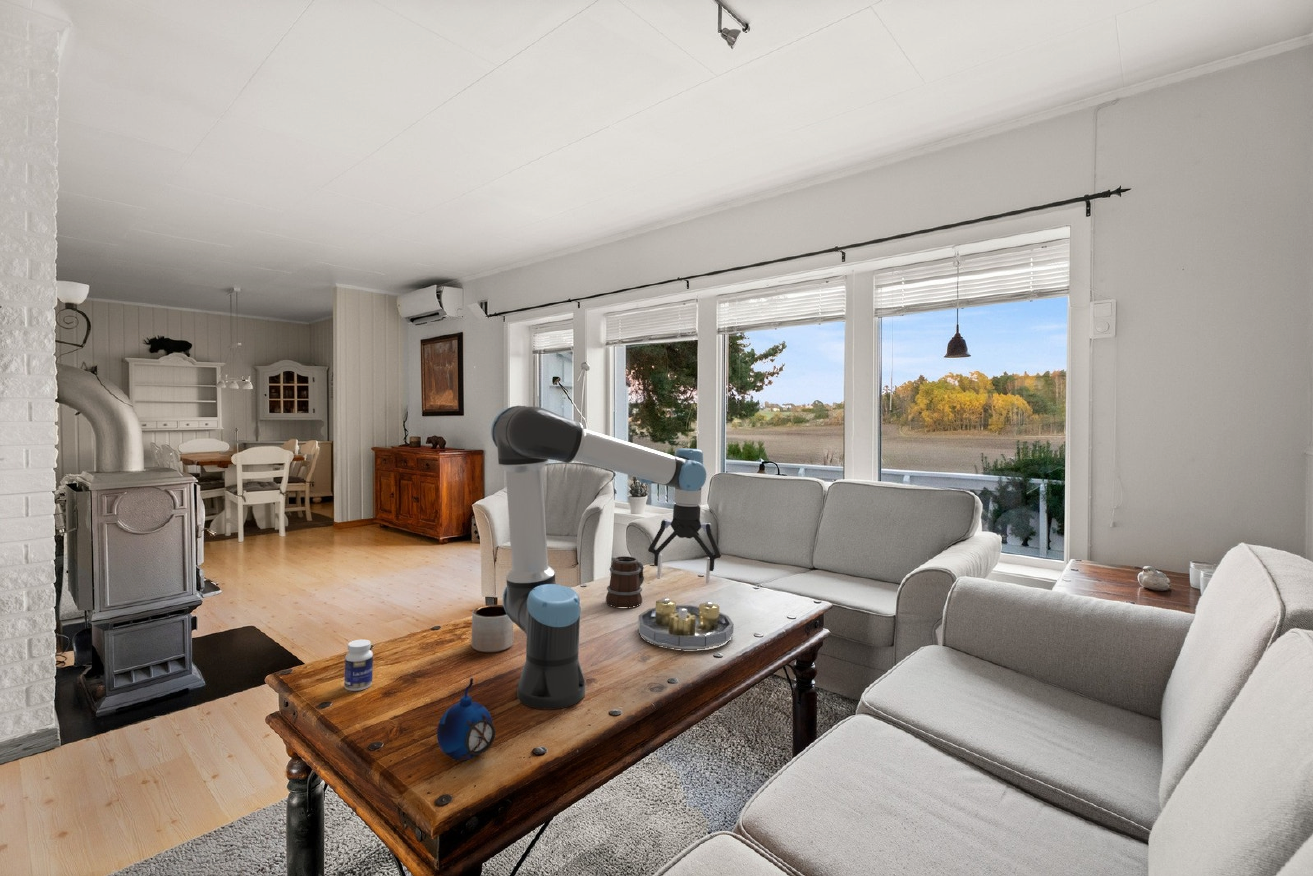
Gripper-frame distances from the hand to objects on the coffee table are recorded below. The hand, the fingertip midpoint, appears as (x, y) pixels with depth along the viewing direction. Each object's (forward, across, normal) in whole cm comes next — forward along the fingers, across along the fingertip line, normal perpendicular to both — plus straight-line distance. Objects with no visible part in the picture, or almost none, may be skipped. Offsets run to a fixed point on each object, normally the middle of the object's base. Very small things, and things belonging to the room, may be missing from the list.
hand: (683, 580), depth 172 cm
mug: (+18, +22, -33) cm, 43 cm away
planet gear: (+16, 0, 0) cm, 16 cm away
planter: (+19, +49, +15) cm, 55 cm away
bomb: (+19, +31, +66) cm, 75 cm away
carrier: (+18, 0, -8) cm, 19 cm away
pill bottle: (+19, +68, +45) cm, 83 cm away
